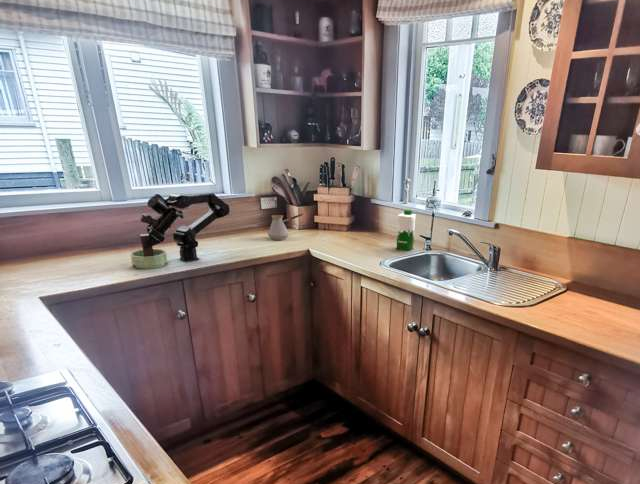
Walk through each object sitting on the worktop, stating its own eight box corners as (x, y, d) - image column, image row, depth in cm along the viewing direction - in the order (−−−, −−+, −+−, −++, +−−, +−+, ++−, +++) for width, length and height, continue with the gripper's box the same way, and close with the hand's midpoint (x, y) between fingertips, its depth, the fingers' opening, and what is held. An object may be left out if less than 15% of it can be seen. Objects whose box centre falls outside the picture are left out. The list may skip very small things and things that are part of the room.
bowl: (157, 258, 219) (155, 247, 216) (174, 264, 211) (172, 252, 208) (126, 264, 208) (123, 252, 206) (142, 271, 200) (140, 258, 198)
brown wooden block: (154, 260, 211) (149, 233, 206) (155, 262, 208) (150, 235, 203) (144, 260, 209) (139, 234, 204) (145, 263, 206) (140, 236, 201)
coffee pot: (264, 240, 260) (263, 212, 254) (273, 236, 270) (271, 209, 264) (301, 243, 256) (300, 215, 250) (308, 238, 267) (307, 212, 260)
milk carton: (414, 247, 255) (417, 210, 247) (409, 251, 247) (412, 212, 239) (399, 245, 258) (401, 208, 249) (394, 249, 250) (396, 211, 242)
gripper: (148, 203, 208) (126, 229, 208) (151, 210, 193) (127, 238, 193) (170, 220, 214) (148, 246, 214) (174, 228, 199) (151, 255, 199)
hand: (143, 246), depth 205 cm, fingers open, 9 cm apart
